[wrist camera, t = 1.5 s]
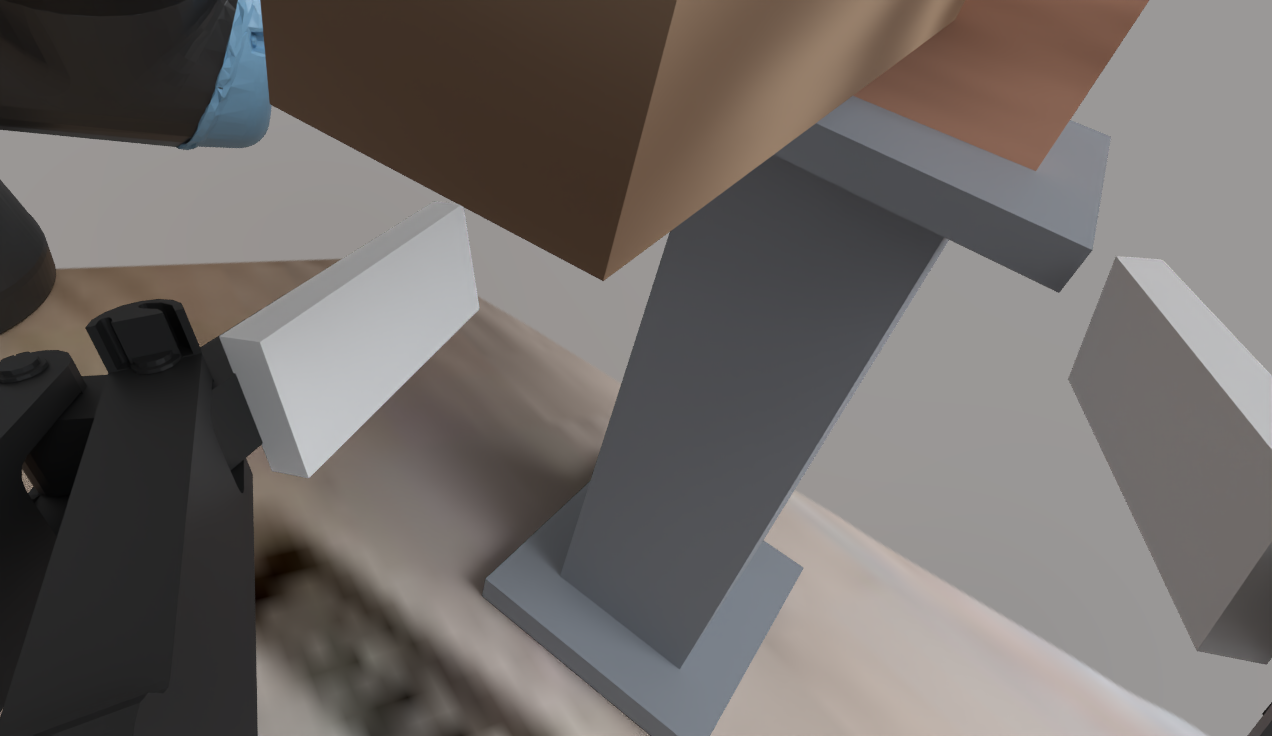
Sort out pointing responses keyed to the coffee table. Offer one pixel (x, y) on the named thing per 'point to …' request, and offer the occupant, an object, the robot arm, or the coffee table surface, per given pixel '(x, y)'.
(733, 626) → the plinth
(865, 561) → the coffee table surface
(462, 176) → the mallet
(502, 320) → the coffee table surface
